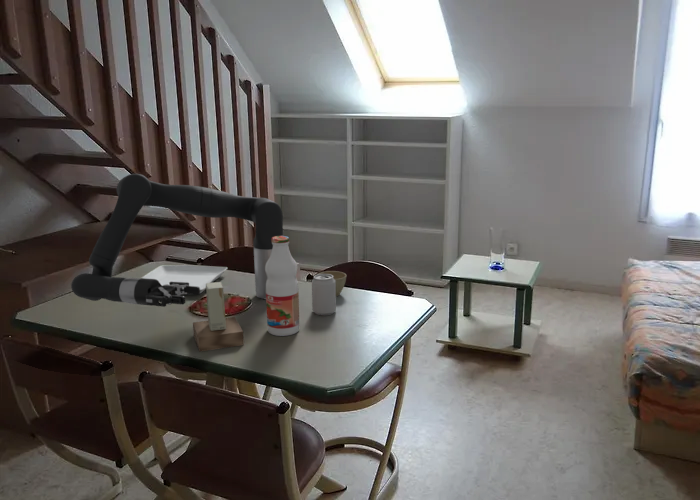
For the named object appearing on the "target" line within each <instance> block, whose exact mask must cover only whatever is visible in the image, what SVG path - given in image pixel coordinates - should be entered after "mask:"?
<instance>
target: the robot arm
mask: <svg viewBox="0 0 700 500" xmlns="http://www.w3.org/2000/svg"><path fill="white" fill-rule="evenodd" d="M116 194H117V201H116V204H115V207H114V210H113V211H112V214H111V216H110V218H109V220H108V221H107V223H106V224H105V227H104V228H103V230H102V231H101V233H100V235H99V236H98V239H97V241H96V243H95V245H94V246H93V249H92V252H91V254H90V255H89V259H88V263H89V264H90V266H91V267H92V272H91V273H80V274H78V275H76V276H75V277H74V278H73V280H72V281H71V284H70V285H71V291H72V292H73V294H74V295H75V296H77V297H78V298H82V299H84V300H89V301H93V302H95V301H96V302H97V301H100V300H107V301H111V302H118V303H125V304H130V305H131V304H132V305H142V306H154V307H155V306H156V307H164V308H165V307H167V305H172V304H174V305H185V304H186V297H185V295H196V296H197V295H200V294H201V293H200V288H199V287H196V286H189V283H187V282H169V284H170V285H168V284H166V285H163V286H162V285H161V284H160V283H159V281H158V280H156V279H146V278H142V277H120V276H118V277H117V276H116V277H115V276H114V277H113V276H112V275H113V268H114V265H115V264H116V261H117V260H118V257H119V255H120V253H121V250H122V247H123V246H124V243H125V240H126V238H127V235H128V233H129V231H130V230H131V228H132V225H133V223H134V221H135V219H136V217H137V216H138V214H139V213H140V211H141V209H142V208H143V207H147V206H148V207H159V208H162V209H163V208H164V209H166V210H171V211H175V212H179V213H183V214H189V215H193V216H196V217H197V216H198V217H203V218H216V219H218V218H236V219H241V220H245V221H248V222H252V223H254V224H255V237H254V238H253V240H252V241H253V244H252V245H253V256H254V257H253V260H254V263H253V264H254V279H255V280H254V283H255V284H254V285H255V286H254V287H255V297H257V298H259V299H264V300H266V281H267V275H266V271H265V266H266V263H267V261H268V260H269V258H270V255H271V252H272V248H273V244H272V237H275V236H284V235H283V232H284V231H283V230H284V229H283V227H284V225H283V223H284V219H283V210H282V208H281V206H280V205H279V203H277V202H276V201H273V200H271V199H270V198H267V197H251V196H242V195H236V194H232V193H230V192H226V191H223V190H218V189H215V188H210V187H205V186H198V185H189V184H168V183H165V184H164V183H160V182H156V181H152V180H149V179H148V177H146V176H145V175H144V174H142V173H131V174H128V175H126V176H123V177H122V178H121V179H120V180H119V181H118V183H117V185H116ZM183 288H184V289H183ZM175 291H177V293H176V294H175ZM180 291H182V292H180Z"/></svg>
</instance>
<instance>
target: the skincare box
mask: <svg viewBox="0 0 700 500" xmlns="http://www.w3.org/2000/svg"><path fill="white" fill-rule="evenodd" d="M205 291H206V293H205V294H206V305H207V319H208V320H207V321H209V327H210V330H211V331H214V330H222V329H226V321H225V318H226V310H225V307H226V306H225V297H224V296H225V294H224V292H225V291H224V285H223V283H222V281H216V282H214V281H213V282H212V283H206V289H205Z"/></svg>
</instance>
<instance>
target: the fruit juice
mask: <svg viewBox="0 0 700 500" xmlns="http://www.w3.org/2000/svg"><path fill="white" fill-rule="evenodd" d="M272 244H273V248H272V252H271V255H270V258H269V260H268V261H267V263H266V266H265V271H266V275H267V281H266V299H265V301H266V302H265V303H266V327H267V332H268V333H269V334H271V335H273V336H277V337H287V336H292V335H295V334H297V333H298V332H299V331H300V327H301V326H300V298H299V297H300V295H299V294H300V293H299V282H298V279H297V273H298V263H297V262H296V260H295V258H293V256H292V254H291V251H290V247H289V244H290V237H289V236H285V235H283V236H275V237H272Z"/></svg>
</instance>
